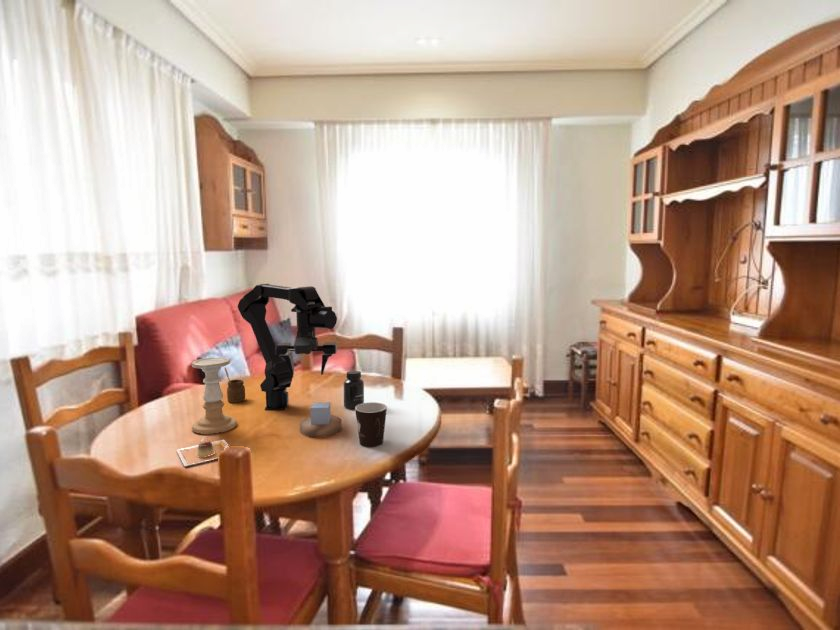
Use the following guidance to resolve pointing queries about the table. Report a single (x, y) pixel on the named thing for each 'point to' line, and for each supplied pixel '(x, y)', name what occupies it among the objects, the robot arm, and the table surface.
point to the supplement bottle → (353, 390)
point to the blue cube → (320, 413)
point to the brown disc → (321, 427)
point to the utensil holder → (235, 390)
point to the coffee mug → (371, 423)
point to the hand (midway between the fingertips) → (307, 374)
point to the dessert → (201, 450)
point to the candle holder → (213, 398)
